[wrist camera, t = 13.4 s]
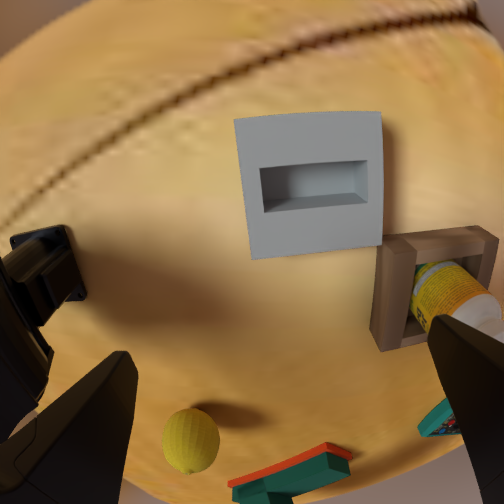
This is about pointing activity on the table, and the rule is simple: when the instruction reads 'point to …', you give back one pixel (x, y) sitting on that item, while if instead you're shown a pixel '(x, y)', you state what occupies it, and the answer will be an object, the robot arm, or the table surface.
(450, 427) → the digital multimeter
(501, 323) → the supplement bottle
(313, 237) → the grey slot block
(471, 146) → the table surface
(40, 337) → the robot arm
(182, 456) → the lemon
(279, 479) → the power tool
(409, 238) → the walnut socket block
